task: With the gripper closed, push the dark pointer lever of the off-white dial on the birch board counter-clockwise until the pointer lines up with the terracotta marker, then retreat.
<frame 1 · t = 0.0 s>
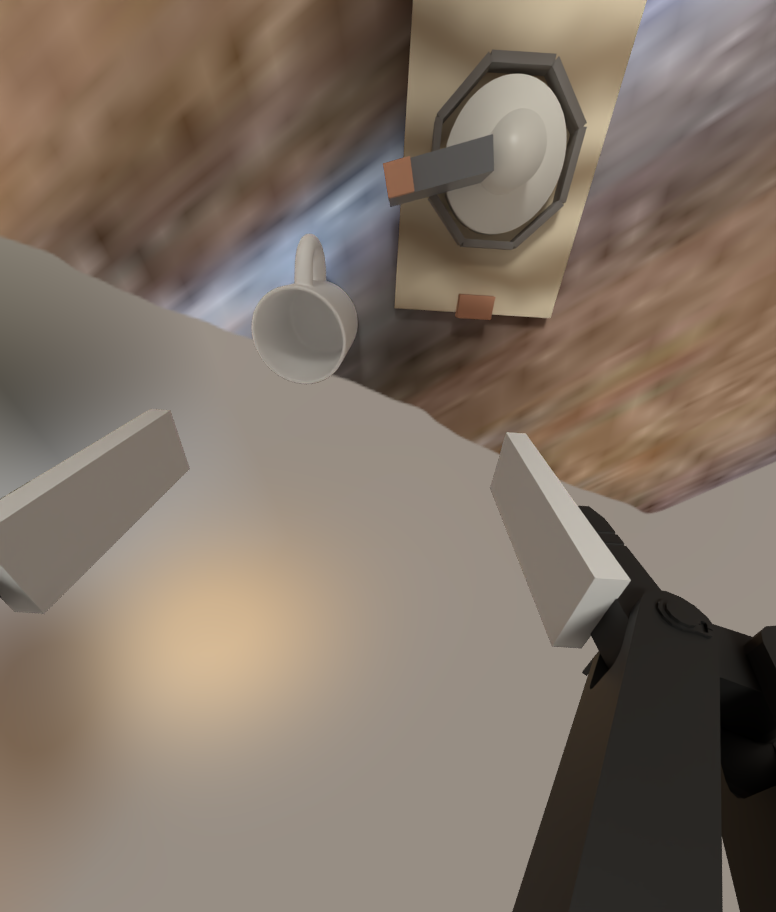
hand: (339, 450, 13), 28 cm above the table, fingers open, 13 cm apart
dial: (478, 164, 25), point 5 cm above the table, hinge at -75.0°
mug: (323, 301, 36), on the table
board: (495, 169, 29), on the table
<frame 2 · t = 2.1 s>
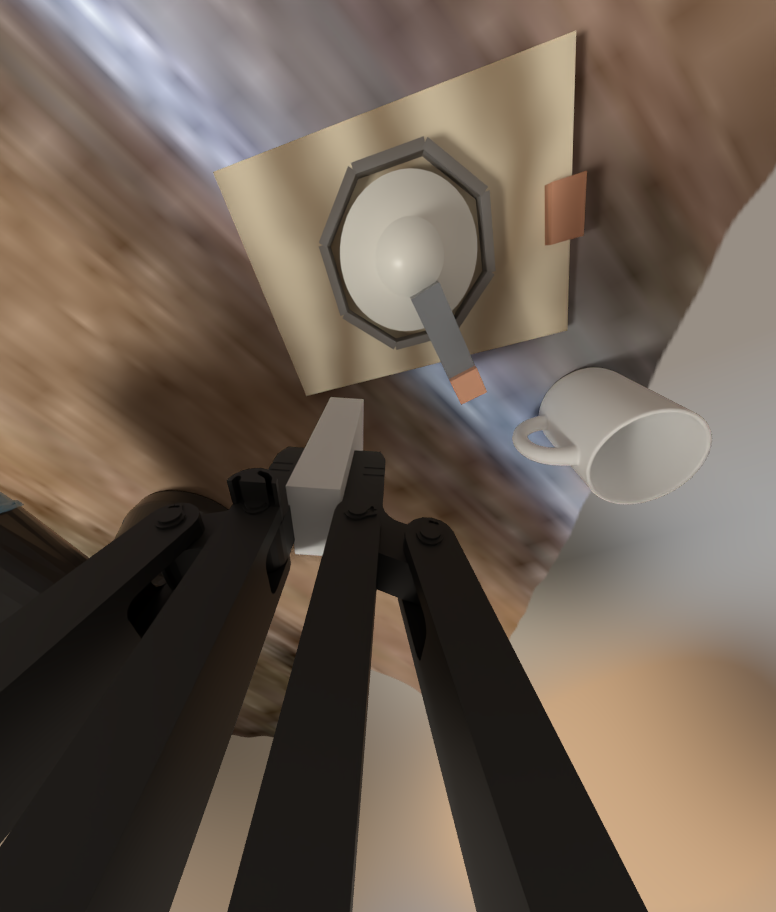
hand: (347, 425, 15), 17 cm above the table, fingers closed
dial: (425, 294, 23), point 5 cm above the table, hinge at -75.0°
mug: (558, 408, 32), on the table
board: (407, 259, 26), on the table
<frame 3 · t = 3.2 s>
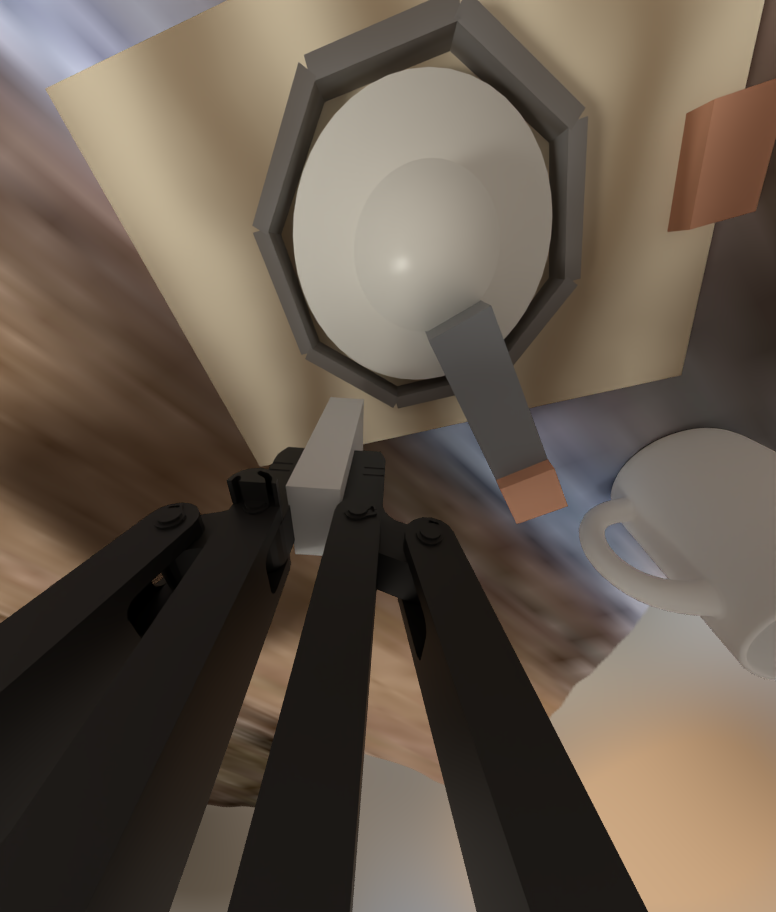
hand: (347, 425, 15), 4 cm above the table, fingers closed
dial: (452, 323, 12), point 5 cm above the table, hinge at -75.0°
mug: (640, 480, 21), on the table
board: (416, 256, 15), on the table
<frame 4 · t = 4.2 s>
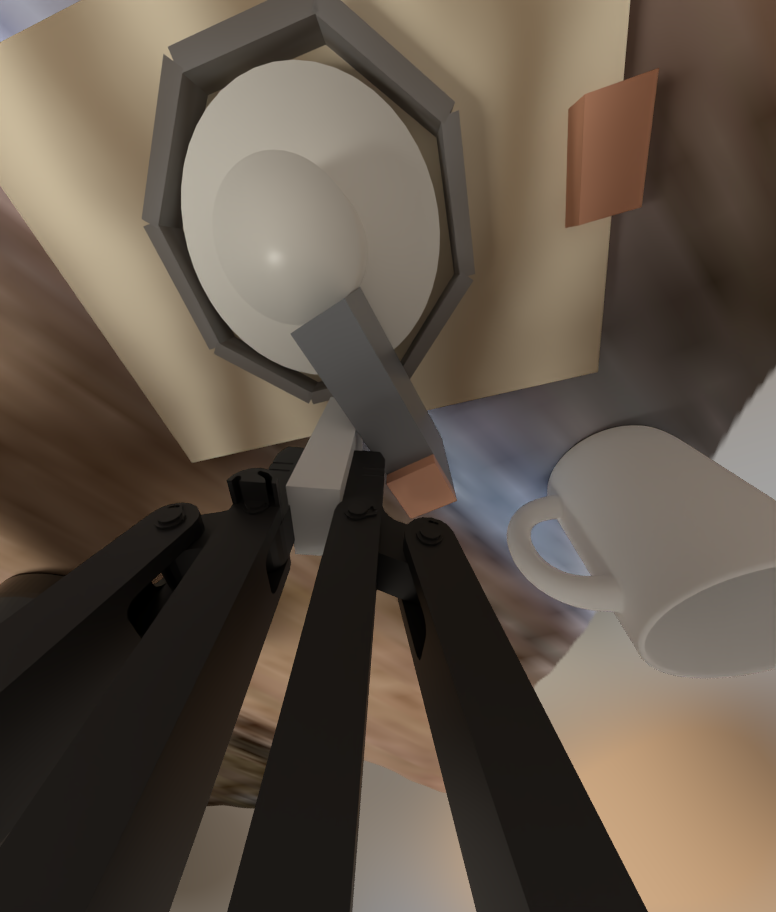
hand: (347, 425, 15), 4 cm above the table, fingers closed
dial: (340, 317, 12), point 5 cm above the table, hinge at -75.0°, touching gripper
mug: (576, 478, 22), on the table
board: (326, 252, 15), on the table
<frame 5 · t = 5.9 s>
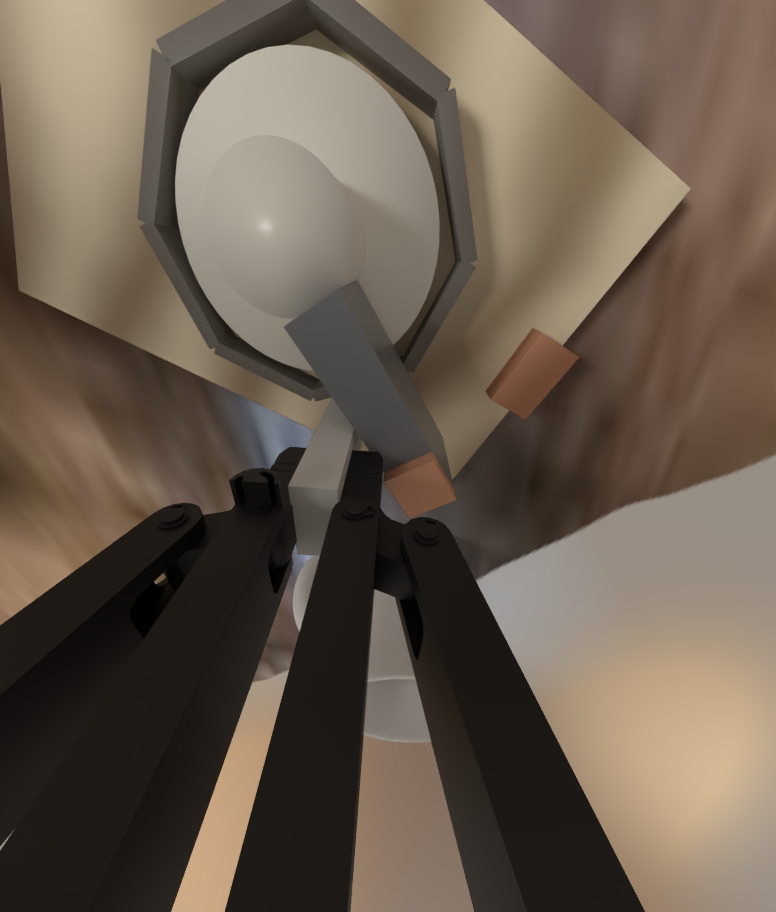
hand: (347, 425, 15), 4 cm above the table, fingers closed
dial: (337, 311, 12), point 5 cm above the table, hinge at -31.8°, touching gripper
mug: (385, 548, 25), on the table
board: (324, 246, 15), on the table
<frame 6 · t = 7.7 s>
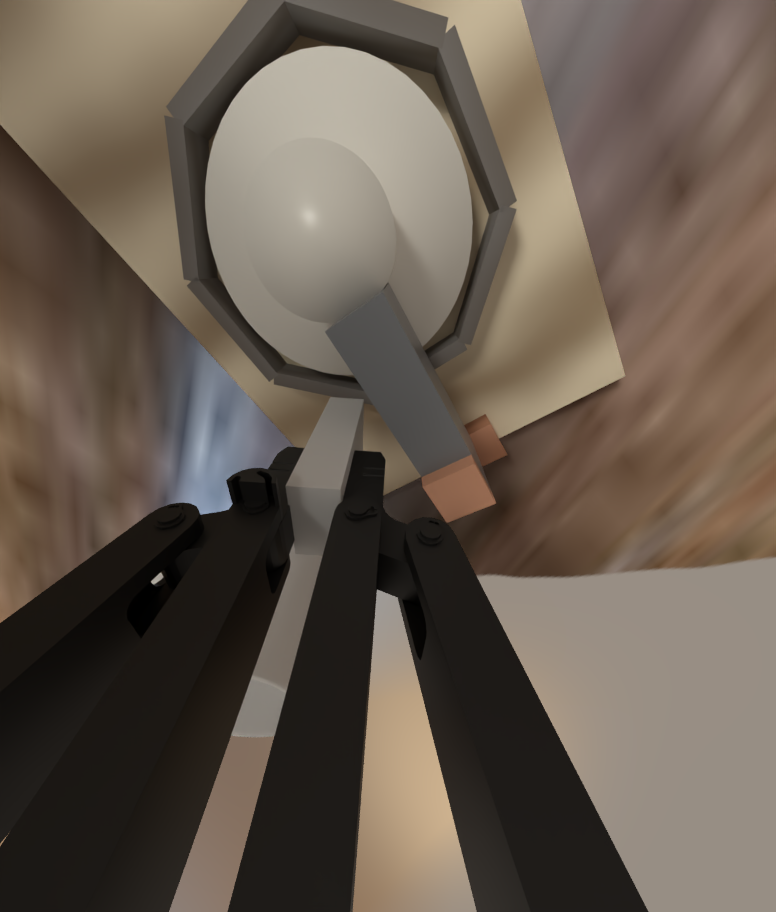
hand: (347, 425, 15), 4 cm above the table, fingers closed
dial: (370, 314, 12), point 5 cm above the table, hinge at -2.1°
mug: (274, 538, 25), on the table
board: (349, 248, 14), on the table
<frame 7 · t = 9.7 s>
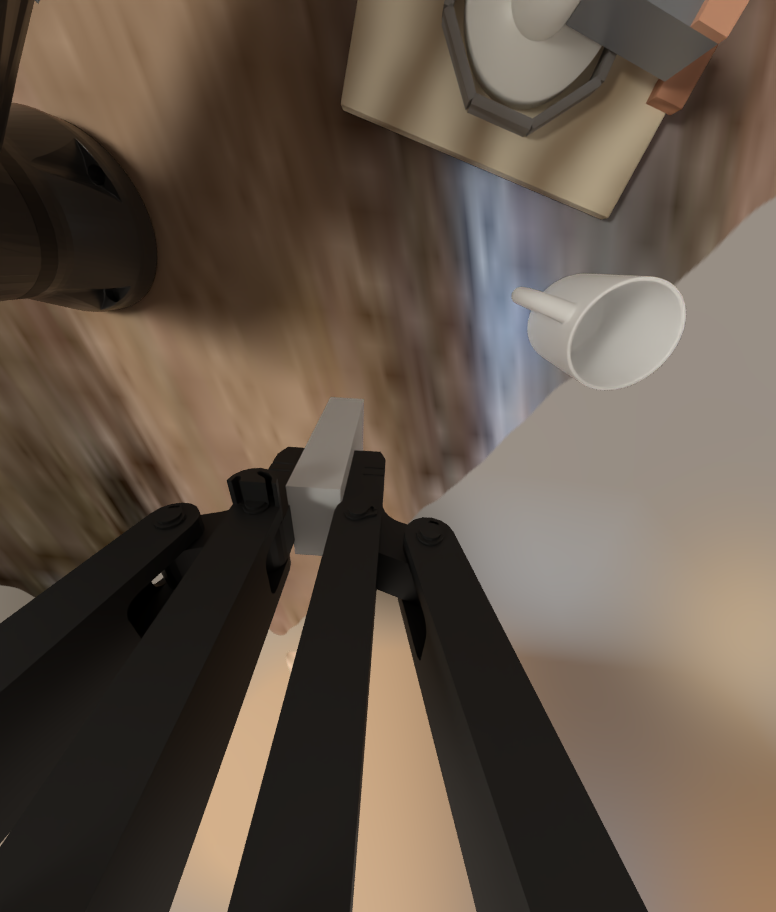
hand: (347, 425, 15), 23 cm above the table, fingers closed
mug: (550, 311, 33), on the table
board: (531, 18, 23), on the table
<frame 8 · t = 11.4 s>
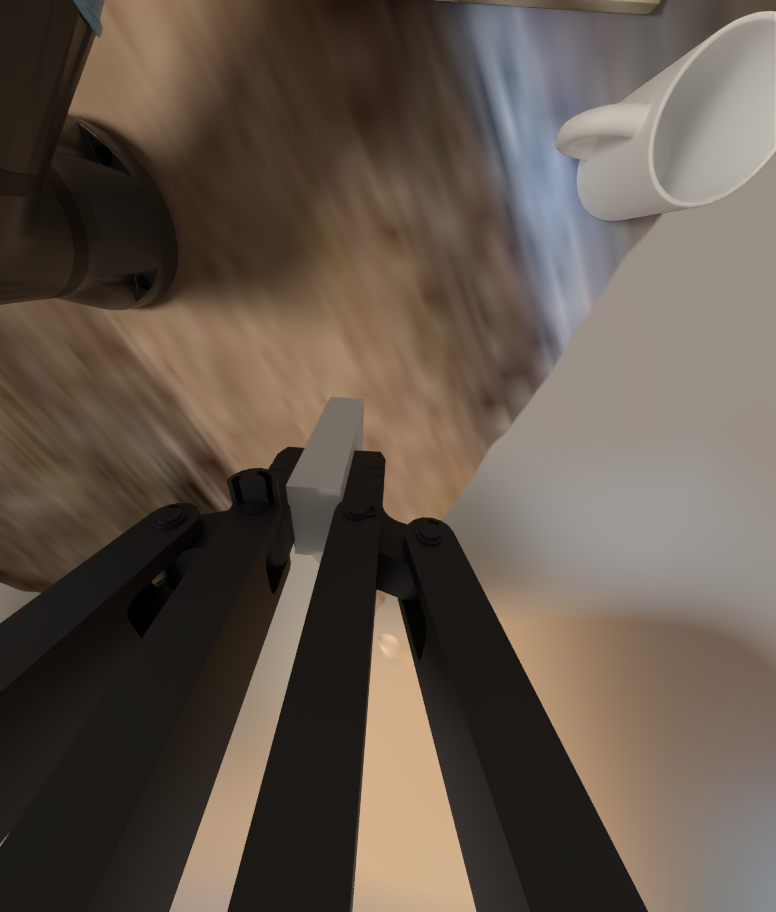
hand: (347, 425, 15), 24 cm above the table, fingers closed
mug: (601, 161, 28), on the table
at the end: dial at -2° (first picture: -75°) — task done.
